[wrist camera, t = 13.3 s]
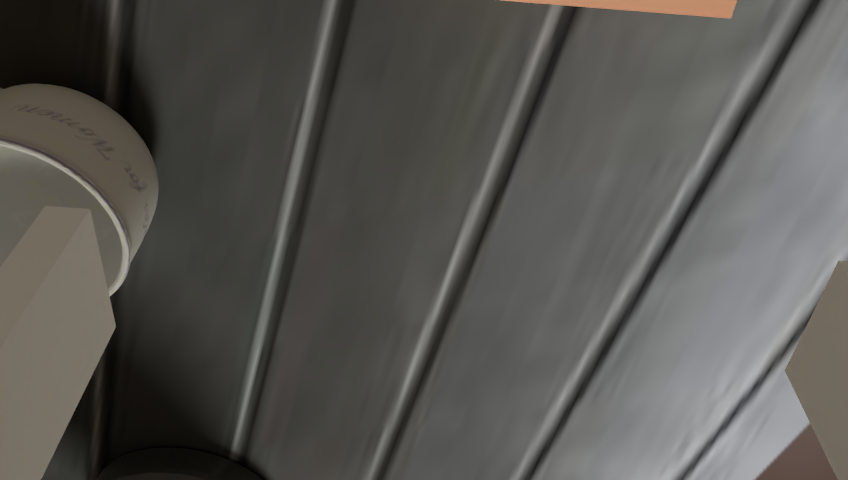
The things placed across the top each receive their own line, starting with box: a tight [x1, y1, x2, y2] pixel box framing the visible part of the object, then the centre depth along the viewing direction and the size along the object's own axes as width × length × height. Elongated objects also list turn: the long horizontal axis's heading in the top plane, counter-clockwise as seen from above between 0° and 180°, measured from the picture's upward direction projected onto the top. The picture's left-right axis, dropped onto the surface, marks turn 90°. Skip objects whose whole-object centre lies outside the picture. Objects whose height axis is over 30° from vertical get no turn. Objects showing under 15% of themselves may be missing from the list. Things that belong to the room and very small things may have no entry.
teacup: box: [0, 83, 158, 296], centre depth 40 cm, size 14×11×8 cm
